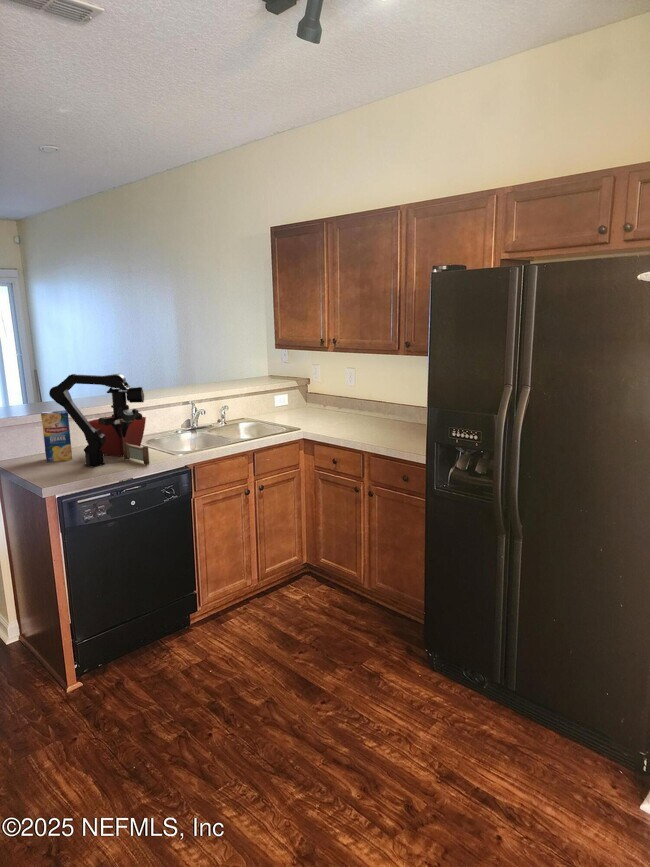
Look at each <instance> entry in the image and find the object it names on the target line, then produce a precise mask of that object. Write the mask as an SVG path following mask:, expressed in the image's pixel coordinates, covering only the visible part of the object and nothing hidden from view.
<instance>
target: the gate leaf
mask: <svg viewBox="0 0 650 867" xmlns="http://www.w3.org/2000/svg"><path fill="white" fill-rule="evenodd" d="M126 450H127V458H130V459H133V460H136V461H141V462H144V460H143V446H141V445H140V446H136V445H132V444H127V445H126Z"/></svg>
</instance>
